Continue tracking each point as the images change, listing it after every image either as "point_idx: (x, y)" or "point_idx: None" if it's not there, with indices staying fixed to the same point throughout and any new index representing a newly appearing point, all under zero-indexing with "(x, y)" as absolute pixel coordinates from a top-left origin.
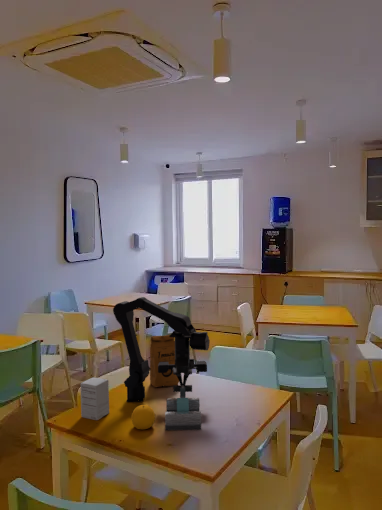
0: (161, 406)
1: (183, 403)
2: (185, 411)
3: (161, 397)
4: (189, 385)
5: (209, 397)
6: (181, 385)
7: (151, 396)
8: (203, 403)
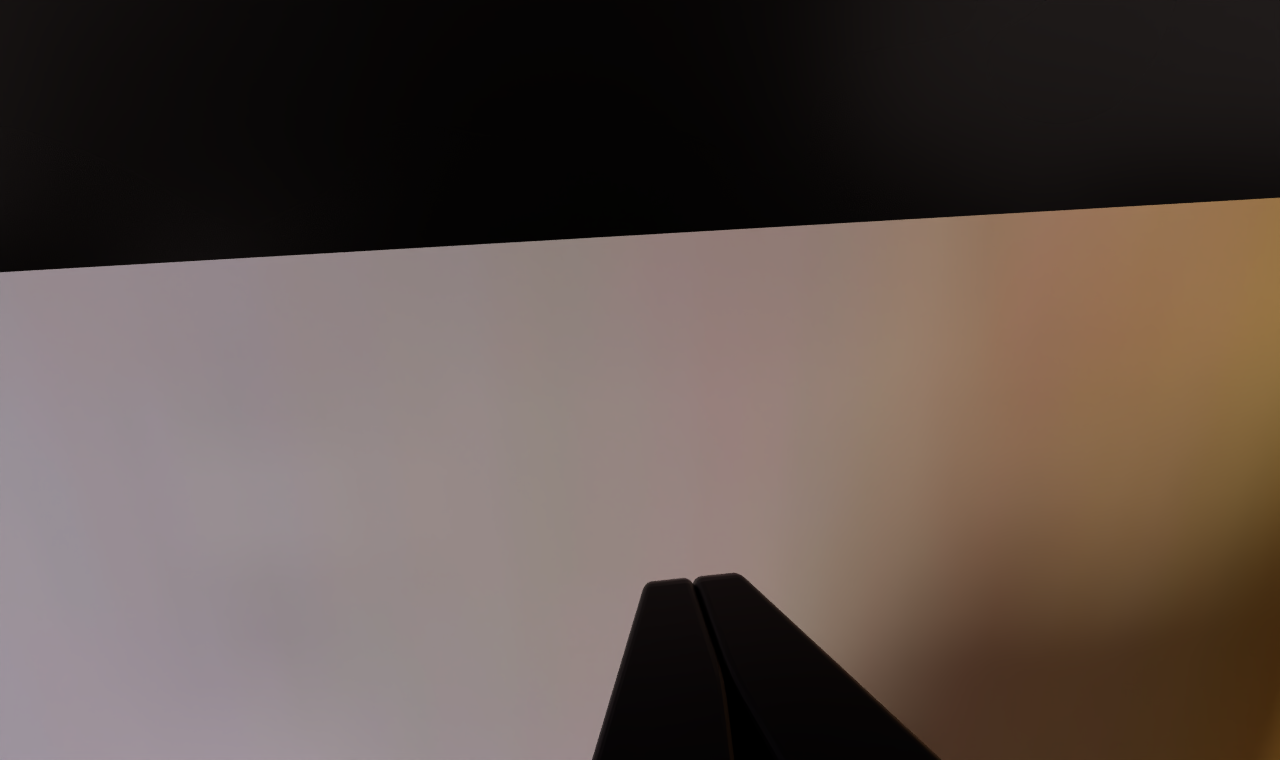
0: None
1: None
2: None
3: (1062, 662)
4: (64, 127)
5: (9, 733)
6: (991, 137)
7: (1233, 688)
8: (61, 402)
